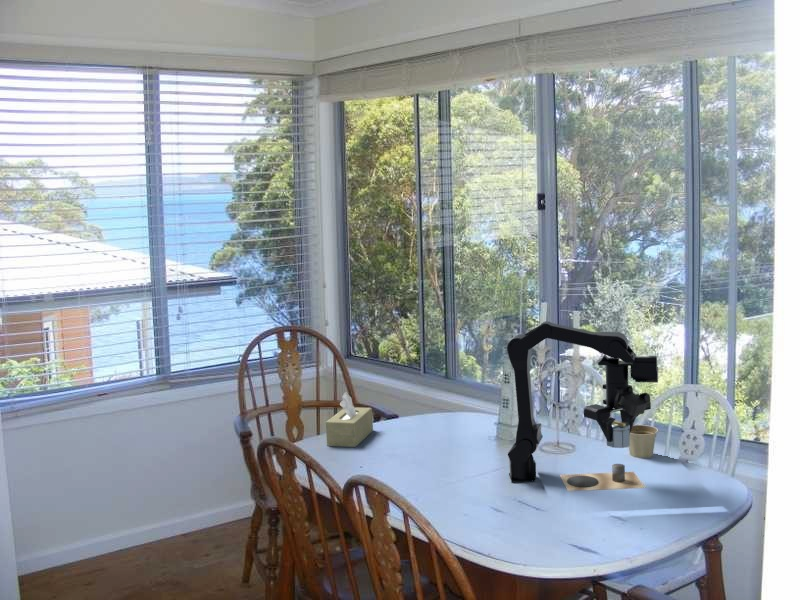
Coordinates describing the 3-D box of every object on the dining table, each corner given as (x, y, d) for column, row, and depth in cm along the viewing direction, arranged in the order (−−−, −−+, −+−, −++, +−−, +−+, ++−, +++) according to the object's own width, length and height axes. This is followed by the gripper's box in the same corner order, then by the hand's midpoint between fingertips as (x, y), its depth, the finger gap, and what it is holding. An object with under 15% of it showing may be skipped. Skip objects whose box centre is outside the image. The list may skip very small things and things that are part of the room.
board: (568, 495, 215) (567, 476, 214) (559, 479, 227) (559, 460, 226) (645, 491, 215) (645, 472, 214) (633, 475, 227) (633, 457, 226)
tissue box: (346, 429, 285) (343, 384, 283) (373, 430, 282) (371, 385, 280) (326, 446, 267) (323, 398, 265) (355, 447, 264) (352, 399, 262)
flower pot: (660, 464, 235) (659, 434, 234) (625, 463, 237) (625, 434, 236) (656, 453, 244) (656, 424, 243) (623, 453, 246) (623, 424, 245)
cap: (601, 443, 220) (601, 421, 220) (618, 439, 223) (618, 417, 222) (618, 449, 215) (617, 426, 214) (635, 444, 218) (634, 422, 217)
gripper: (612, 393, 205) (613, 454, 208) (666, 381, 215) (667, 440, 217) (581, 385, 215) (582, 443, 217) (634, 374, 224) (635, 430, 226)
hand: (618, 439), depth 219 cm, fingers closed on cap, 6 cm apart
